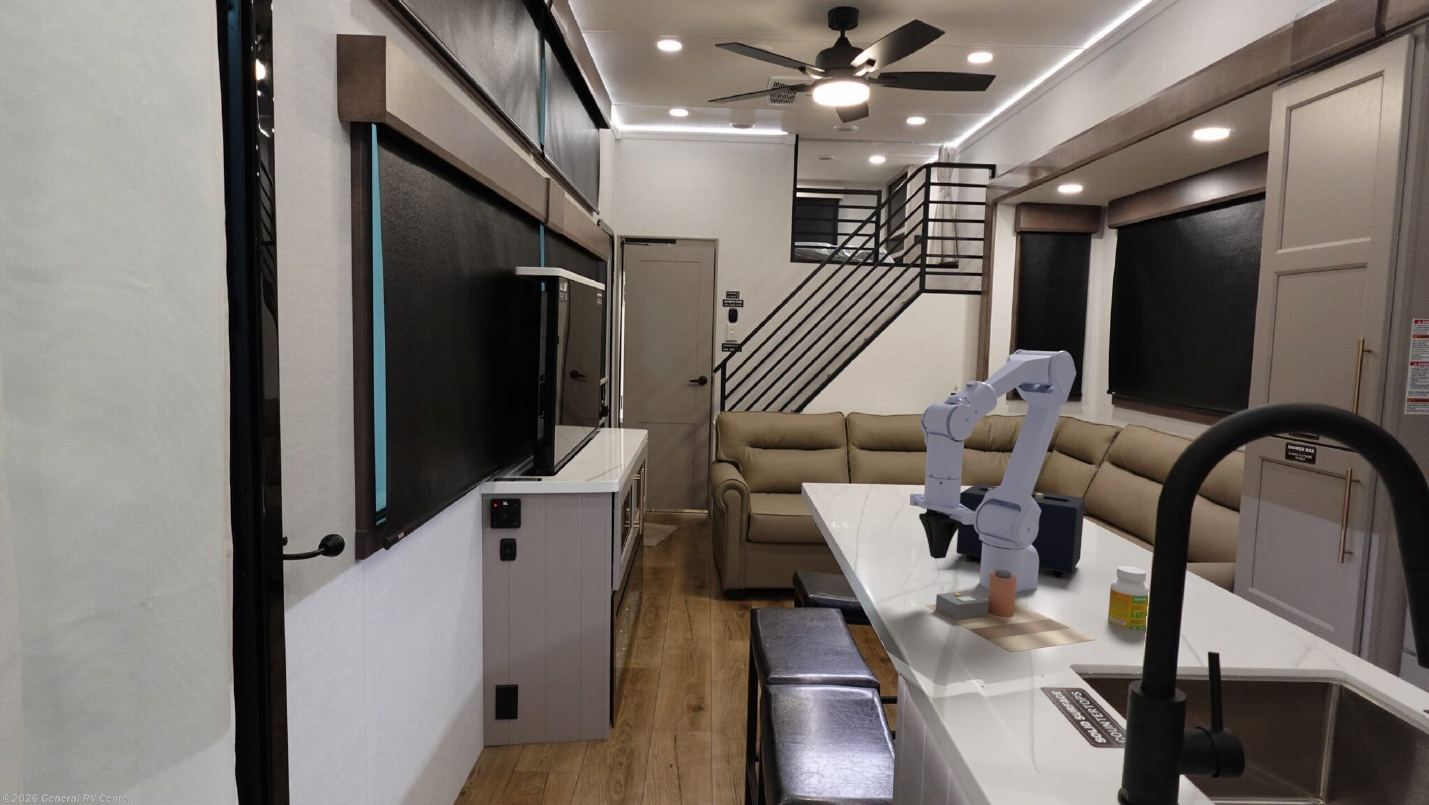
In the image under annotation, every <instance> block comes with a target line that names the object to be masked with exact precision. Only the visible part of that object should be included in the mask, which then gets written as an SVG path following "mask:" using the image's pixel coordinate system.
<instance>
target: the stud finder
mask: <svg viewBox="0 0 1429 805" xmlns="http://www.w3.org/2000/svg"><path fill="white" fill-rule="evenodd" d="M935 599H936V600H935V604H936V610H938V611H940V612H941V613H943V614H945V615H947V616H949V617H951V618H952V619H954V620H956V621H957V620H965V619H974V618H982V617H987V615H988V601H987V600H985V599H986V598H983V597H980V596H978V595H976V594H974V593H972V592H970V591H969V590H968V591H967V590H964V591H955V592H945V593H936V598H935Z"/></svg>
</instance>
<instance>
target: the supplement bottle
mask: <svg viewBox="0 0 1429 805" xmlns="http://www.w3.org/2000/svg"><path fill="white" fill-rule="evenodd" d="M1116 578H1117V579H1114V580H1112V582H1111V584H1110V590H1109V602H1108V604H1109V606H1108V612H1107V613H1108V615H1107V621H1108V622H1109V623H1111V624H1113V625H1115V626H1117V627H1121V628H1124V629H1125V628H1126V629H1131V630H1144V629H1146V628H1147V627H1146V616H1147V606H1148V592H1149V589H1150V587H1149V586H1148V585H1147V584H1145V582H1146V581H1147V580H1146V578H1147V571H1145V570H1144V569H1142V568H1139V567H1136V566H1129V565H1127V566H1126V565H1119V566H1117V569H1116Z"/></svg>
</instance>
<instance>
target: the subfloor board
mask: <svg viewBox="0 0 1429 805" xmlns="http://www.w3.org/2000/svg"><path fill="white" fill-rule="evenodd" d="M984 599H985V600H987V601H988V598H984ZM925 607H927V608H929V609H930V610H933V611H934V612H936V613H938V614H939V615H941V616H943V617H945V618H946V619H949V620H951V621H953V622H954V623H956V624H958V625H959V626H961V627H963V628H966V629H967V630H968V631H971V632H972V633H974V634H976V635H977V636H979V637H982V638H984V639H985V640H987V641H989V642H991V643H993V644H994V645H997V646H998V647H1000V648H1002V649H1003V650H1005V651H1007V652H1009V653H1014V652H1022V651H1028V650H1035V649H1042V648H1048V647H1049V648H1050V647H1058V646H1063V645H1064V646H1065V645H1071V644H1077V643H1082V642H1083V643H1084V642H1085V643H1086V642H1091V641H1097V639H1095V638H1093V637H1092V636H1089V635H1087V634H1086V633H1082V632H1080V631H1078V630H1076V629H1074V628H1072V627H1070V626H1067V625H1065V624H1063V623H1061V622H1059V621H1056V620H1054V619H1052V618H1050V617H1048V616H1046V615H1043V614H1041V613H1039V612H1037V611H1035V610H1033V609H1031V608H1028V607H1025V606H1024V605H1022V604H1019V603H1017V602H1015V606H1014V616H1012V617H1000V616H995V615H992V614H990V613H989V612H988V615H987V617H982V618H974V619H965V620H957V621H956V620H954V619H952V618H951V617H949V616H947V615H945V614H943V613H941V612H940V611H938V610H936V603H934V604H928V605H927V604H926V605H925Z"/></svg>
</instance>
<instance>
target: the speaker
mask: <svg viewBox="0 0 1429 805" xmlns="http://www.w3.org/2000/svg"><path fill="white" fill-rule="evenodd" d="M997 487H998V486H997V485H990V484H982V483H975V484H974V485H972V486H969V487H968V488H966V489H965V490H963V491H961V493H960V504H962V505H963V506H965V507H966V508H968V509H970V510H972V511H974V512H975V511H976V509H977V508H978V506H979V505H980V504H981V503H982V501H983V499H984V497H985V494H986V493H987V492H989V491H990V490H992V489H995V488H997ZM1031 496H1032V498H1033V499H1034V500H1035V502H1036V503H1037V504H1038V506H1039V507H1040V509H1041V514H1040V517H1039V529H1038V534H1037V537H1036V539H1035V540H1034V541H1033V542H1032V544H1031V545H1032V546H1033V547H1034V548H1035V549H1036V551H1037V553H1038V557H1039V569H1041V570H1046V571H1051V574H1052V576H1054V577H1057V578H1062V577H1063V576H1064V574H1068V575H1071V574H1072V573H1073V572H1074V571H1075V569H1076V567H1077V564H1078V563H1079V561H1080V560H1081V552H1082V539H1083V528H1084V515H1085V502H1086V498H1084V497H1081V496H1074V495H1066V494H1058V493H1050V492H1044V491H1036V490H1033V492H1032V495H1031ZM1011 508H1012V507H1011ZM1015 509H1016V508H1015ZM1019 510H1021V509H1019ZM955 552H956V554H959V555H964V556H966V558H967V561H970V562H976V561H977V558H979V559H981V555H982V540H980V539H979V534H978V533H977V532H976V530H975V528H974V524H968V525H965V524H961V525H960V526H959V528H958V529H957V538H956V551H955Z"/></svg>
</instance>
